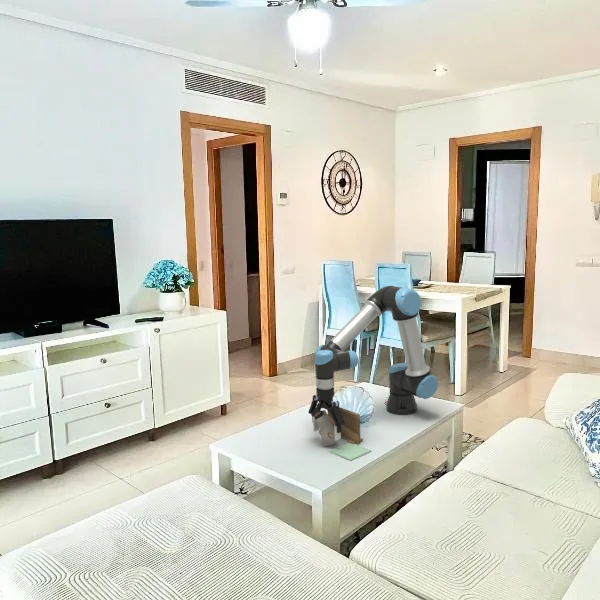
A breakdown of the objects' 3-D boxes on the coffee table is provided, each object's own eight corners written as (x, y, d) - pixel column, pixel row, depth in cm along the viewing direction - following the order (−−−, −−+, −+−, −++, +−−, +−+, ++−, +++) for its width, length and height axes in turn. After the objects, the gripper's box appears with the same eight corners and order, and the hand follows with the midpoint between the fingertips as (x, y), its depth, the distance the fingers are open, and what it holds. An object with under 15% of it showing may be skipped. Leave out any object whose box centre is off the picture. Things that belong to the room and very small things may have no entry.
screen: (334, 430, 246) (333, 403, 244) (363, 441, 232) (362, 413, 230) (325, 434, 242) (324, 406, 240) (353, 446, 229) (353, 416, 227)
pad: (350, 443, 231) (350, 441, 231) (371, 451, 222) (371, 450, 222) (330, 451, 224) (330, 450, 224) (350, 461, 215) (350, 459, 215)
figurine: (324, 438, 238) (322, 406, 235) (342, 443, 231) (341, 410, 229) (311, 445, 231) (310, 412, 229) (330, 451, 225) (329, 417, 222)
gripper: (299, 382, 234) (301, 429, 237) (339, 396, 215) (340, 446, 218) (312, 379, 239) (314, 424, 242) (352, 391, 220) (353, 440, 223)
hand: (326, 435), depth 230 cm, fingers open, 13 cm apart
